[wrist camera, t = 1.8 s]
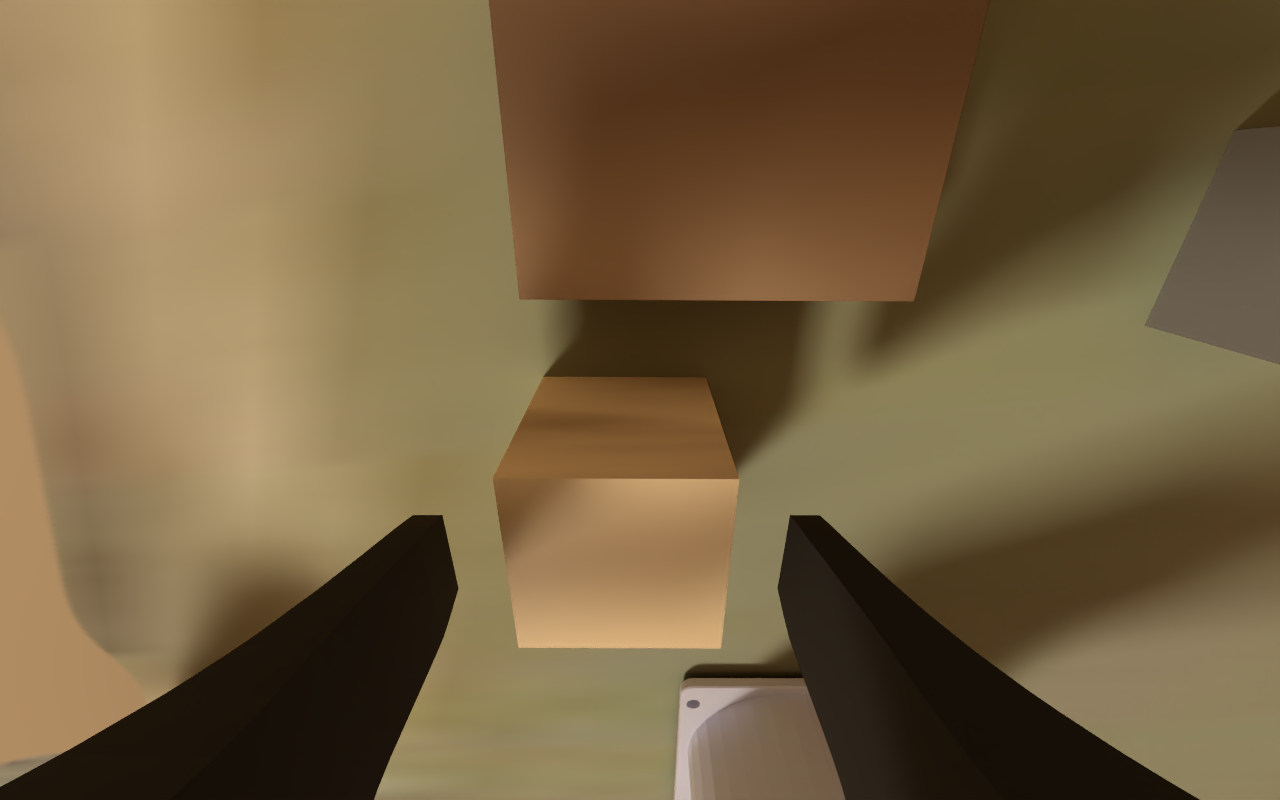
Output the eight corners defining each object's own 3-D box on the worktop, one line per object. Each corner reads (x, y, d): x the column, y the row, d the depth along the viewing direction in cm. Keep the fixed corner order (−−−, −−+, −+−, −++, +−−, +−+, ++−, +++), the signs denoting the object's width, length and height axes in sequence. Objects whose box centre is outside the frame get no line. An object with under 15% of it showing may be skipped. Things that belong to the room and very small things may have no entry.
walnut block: (853, 274, 12) (914, 301, 10) (546, 272, 12) (519, 299, 10) (936, -157, 9) (1066, -304, 6) (513, -161, 9) (457, -310, 6)
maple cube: (696, 507, 15) (720, 648, 11) (555, 507, 15) (518, 647, 11) (705, 376, 13) (739, 479, 9) (543, 375, 13) (492, 478, 9)
